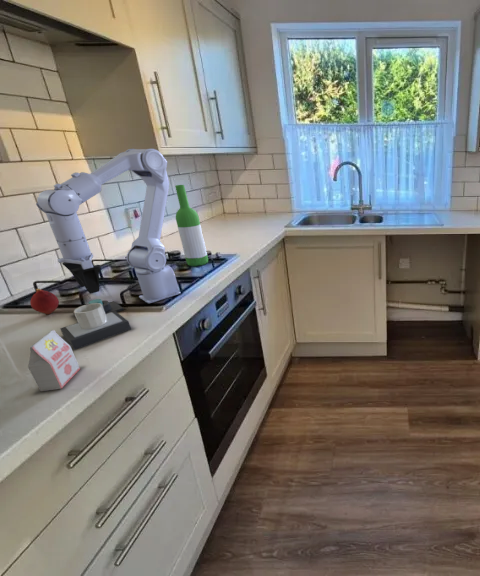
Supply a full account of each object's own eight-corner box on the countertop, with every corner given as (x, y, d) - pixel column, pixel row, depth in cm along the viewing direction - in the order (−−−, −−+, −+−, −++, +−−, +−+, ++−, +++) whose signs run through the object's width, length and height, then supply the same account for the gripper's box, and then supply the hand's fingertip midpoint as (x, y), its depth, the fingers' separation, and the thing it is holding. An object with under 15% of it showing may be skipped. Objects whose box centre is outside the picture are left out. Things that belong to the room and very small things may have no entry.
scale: (118, 318, 100) (114, 309, 99) (131, 329, 94) (128, 320, 93) (63, 336, 91) (59, 327, 90) (74, 349, 86) (70, 339, 85)
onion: (60, 307, 108) (49, 282, 104) (65, 312, 104) (54, 287, 101) (34, 314, 103) (22, 289, 100) (38, 320, 100) (26, 294, 97)
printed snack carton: (40, 391, 72) (19, 348, 68) (60, 371, 78) (42, 331, 74) (61, 388, 72) (41, 346, 68) (80, 368, 78) (62, 328, 75)
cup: (103, 316, 95) (97, 301, 94) (110, 322, 92) (105, 306, 90) (77, 324, 91) (71, 308, 90) (84, 331, 88) (77, 315, 86)
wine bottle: (188, 262, 144) (169, 184, 132) (209, 259, 146) (192, 183, 135) (186, 268, 137) (165, 187, 125) (208, 265, 140) (190, 185, 128)
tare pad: (114, 303, 110) (111, 295, 109) (123, 310, 105) (121, 302, 104) (73, 315, 103) (70, 307, 102) (82, 323, 98) (78, 315, 97)
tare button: (101, 302, 105) (99, 298, 104) (104, 305, 103) (102, 300, 103) (88, 306, 103) (86, 301, 102) (91, 309, 101) (90, 304, 100)
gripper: (44, 238, 92) (63, 287, 97) (58, 247, 83) (79, 300, 89) (78, 232, 97) (95, 279, 102) (94, 240, 88) (112, 291, 94)
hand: (90, 288), depth 96 cm, fingers open, 7 cm apart
